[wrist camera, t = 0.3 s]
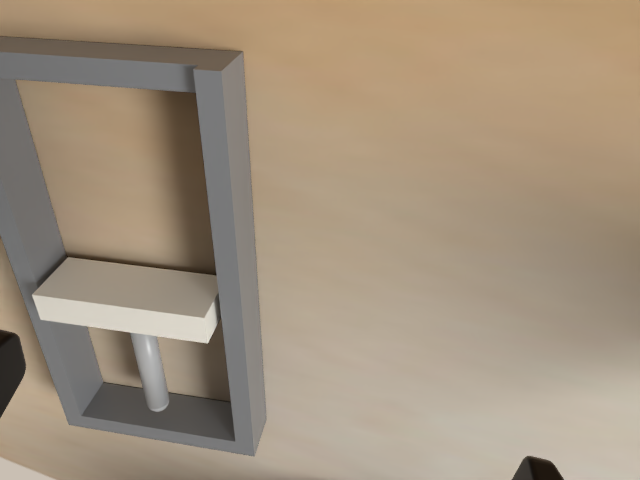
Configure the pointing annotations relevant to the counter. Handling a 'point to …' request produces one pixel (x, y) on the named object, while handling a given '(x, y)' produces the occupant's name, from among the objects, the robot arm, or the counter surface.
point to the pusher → (134, 309)
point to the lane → (226, 225)
